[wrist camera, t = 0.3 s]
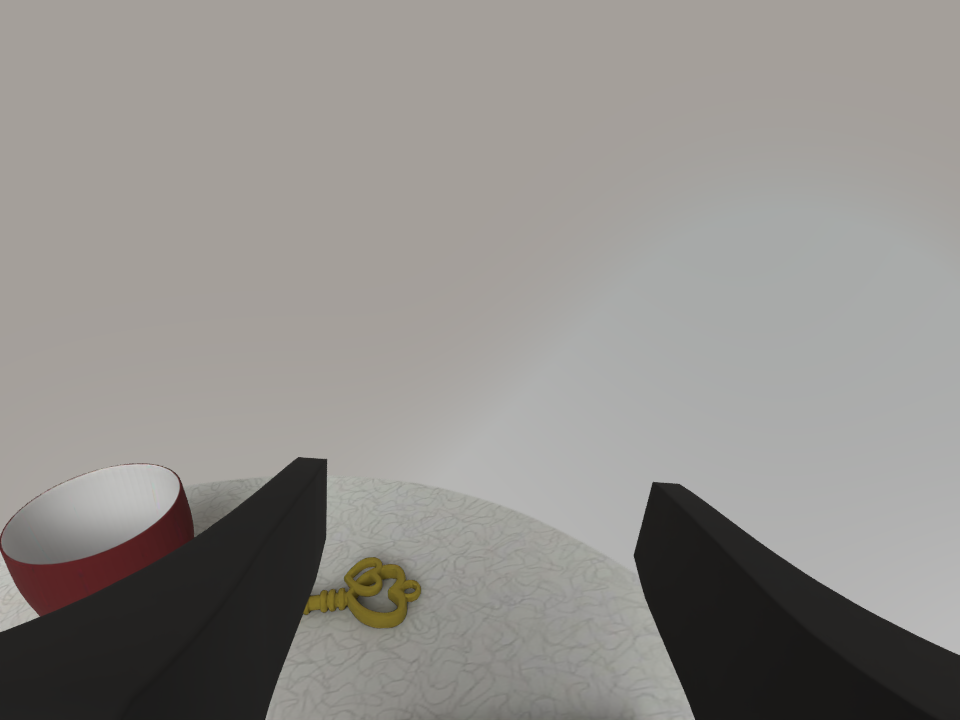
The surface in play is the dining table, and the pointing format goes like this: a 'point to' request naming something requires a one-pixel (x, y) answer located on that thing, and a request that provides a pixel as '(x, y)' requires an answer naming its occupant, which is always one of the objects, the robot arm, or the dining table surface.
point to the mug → (94, 532)
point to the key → (369, 594)
